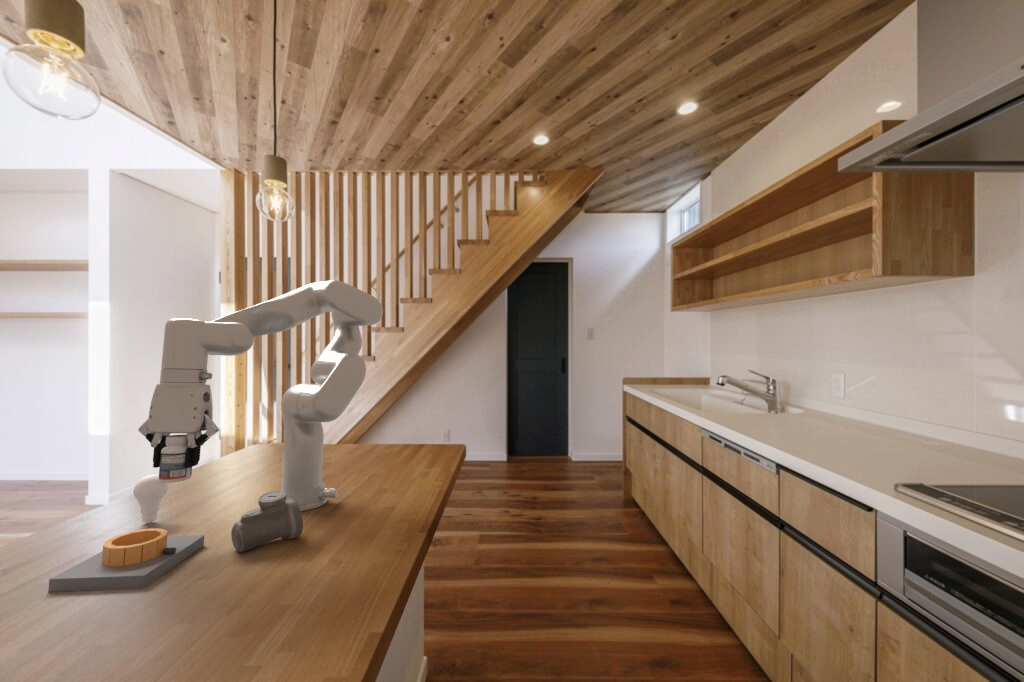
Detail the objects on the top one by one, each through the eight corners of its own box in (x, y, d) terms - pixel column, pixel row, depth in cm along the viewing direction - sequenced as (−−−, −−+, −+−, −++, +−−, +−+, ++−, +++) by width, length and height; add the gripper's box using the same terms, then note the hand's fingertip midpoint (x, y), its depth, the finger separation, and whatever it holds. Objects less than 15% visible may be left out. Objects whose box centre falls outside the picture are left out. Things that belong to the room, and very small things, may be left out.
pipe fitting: (292, 526, 93) (290, 482, 92) (306, 540, 88) (303, 494, 87) (229, 549, 85) (226, 501, 84) (240, 566, 79) (237, 515, 78)
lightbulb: (145, 529, 91) (148, 479, 92) (123, 527, 92) (127, 477, 93) (173, 519, 97) (176, 472, 98) (152, 517, 98) (155, 470, 99)
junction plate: (203, 545, 84) (205, 520, 84) (143, 587, 68) (145, 556, 69) (127, 547, 83) (129, 522, 83) (48, 591, 67) (50, 560, 67)
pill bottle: (171, 476, 88) (175, 433, 88) (197, 476, 88) (200, 434, 89) (151, 482, 82) (155, 437, 83) (178, 483, 83) (182, 438, 83)
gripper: (237, 378, 91) (230, 462, 90) (153, 376, 90) (145, 461, 88) (216, 379, 84) (208, 471, 82) (124, 376, 82) (115, 470, 81)
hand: (176, 465), depth 85 cm, fingers closed on pill bottle, 5 cm apart
